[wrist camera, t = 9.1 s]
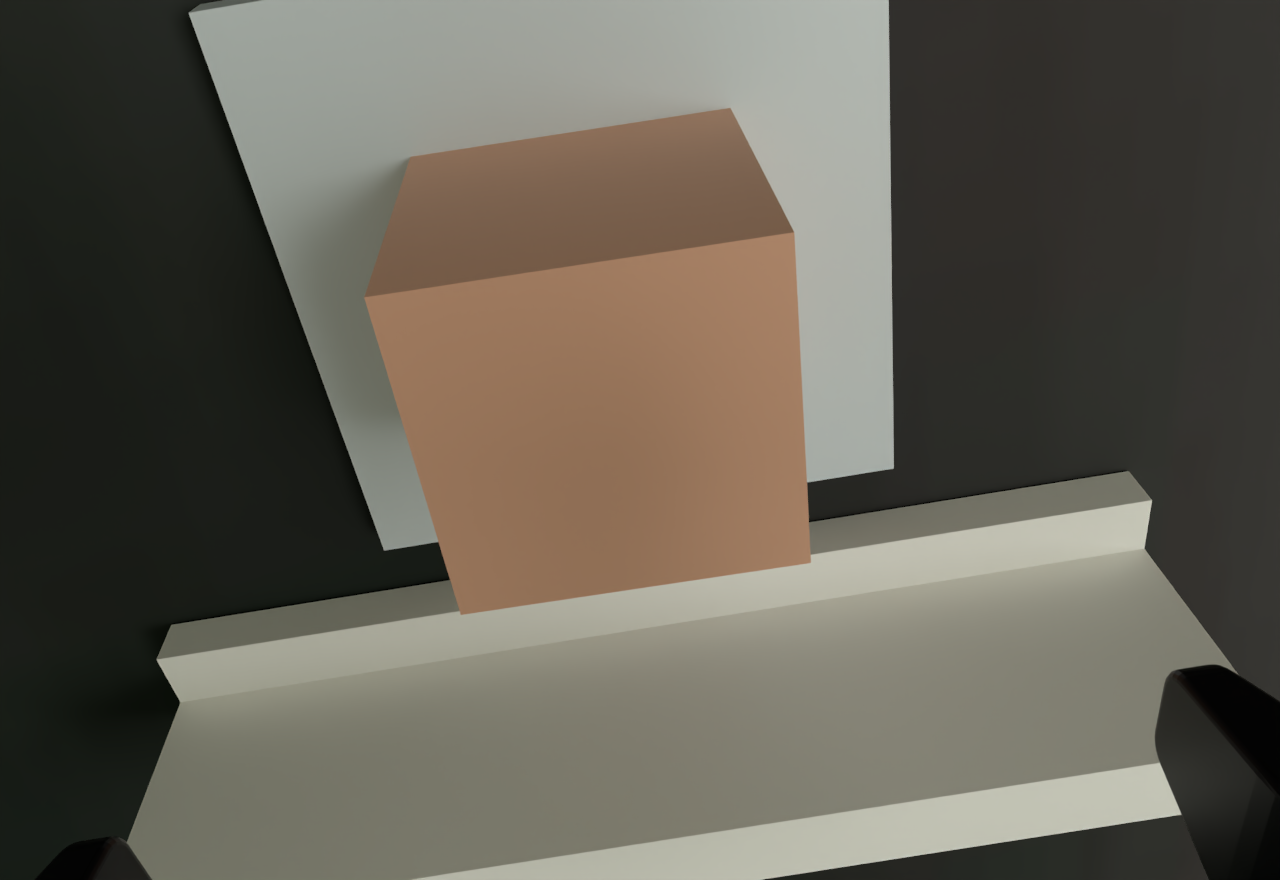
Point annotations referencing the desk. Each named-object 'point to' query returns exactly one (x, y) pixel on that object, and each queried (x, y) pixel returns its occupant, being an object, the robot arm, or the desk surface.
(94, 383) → the desk surface
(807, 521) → the plain cardboard-brown cube
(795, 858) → the off-white ledge rack
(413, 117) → the pad
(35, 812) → the desk surface
